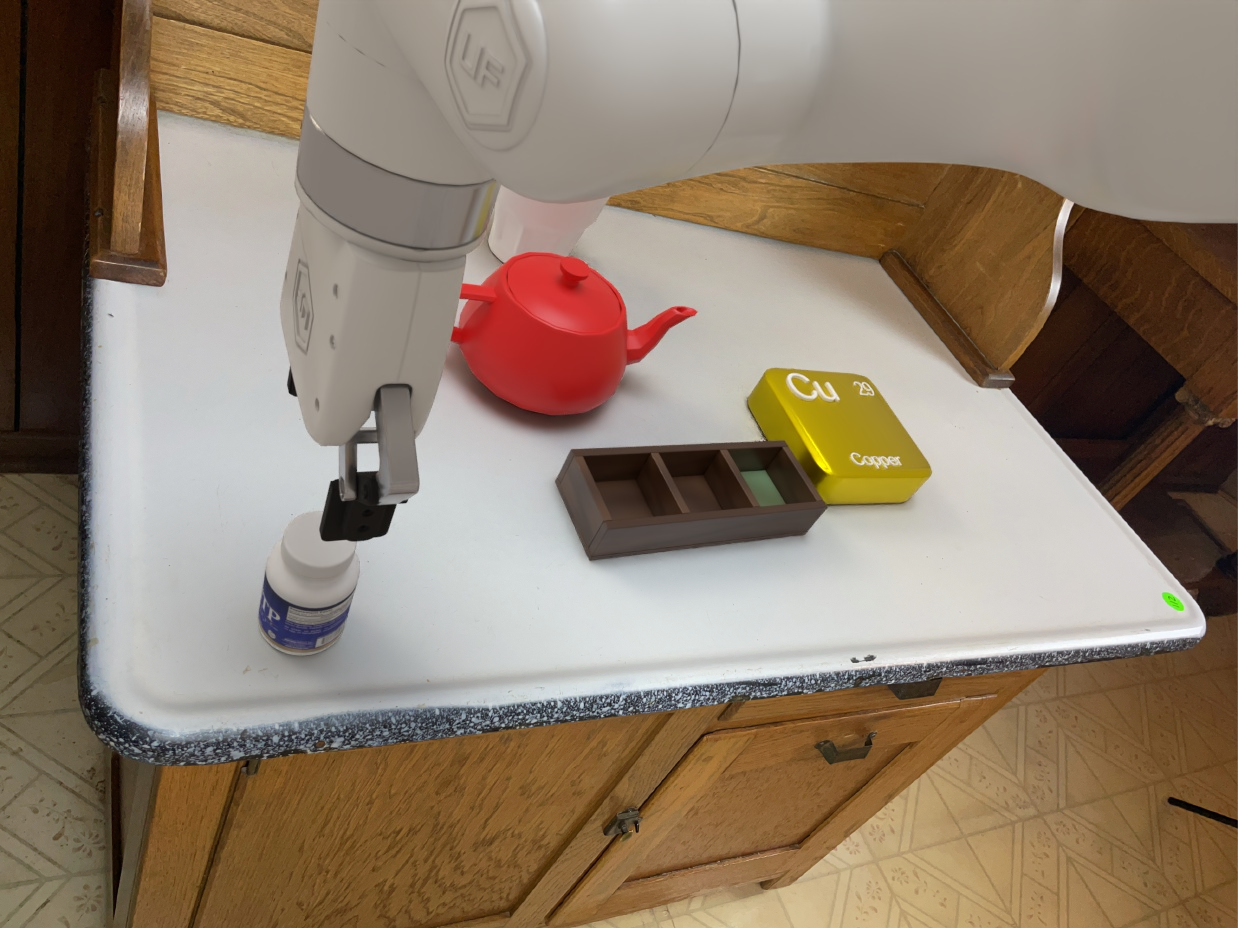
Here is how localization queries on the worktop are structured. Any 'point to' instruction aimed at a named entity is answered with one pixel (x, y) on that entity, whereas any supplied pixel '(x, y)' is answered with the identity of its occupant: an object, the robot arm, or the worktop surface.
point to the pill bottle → (307, 588)
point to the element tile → (840, 435)
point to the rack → (685, 496)
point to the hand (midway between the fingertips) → (334, 459)
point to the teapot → (553, 333)
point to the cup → (538, 225)
